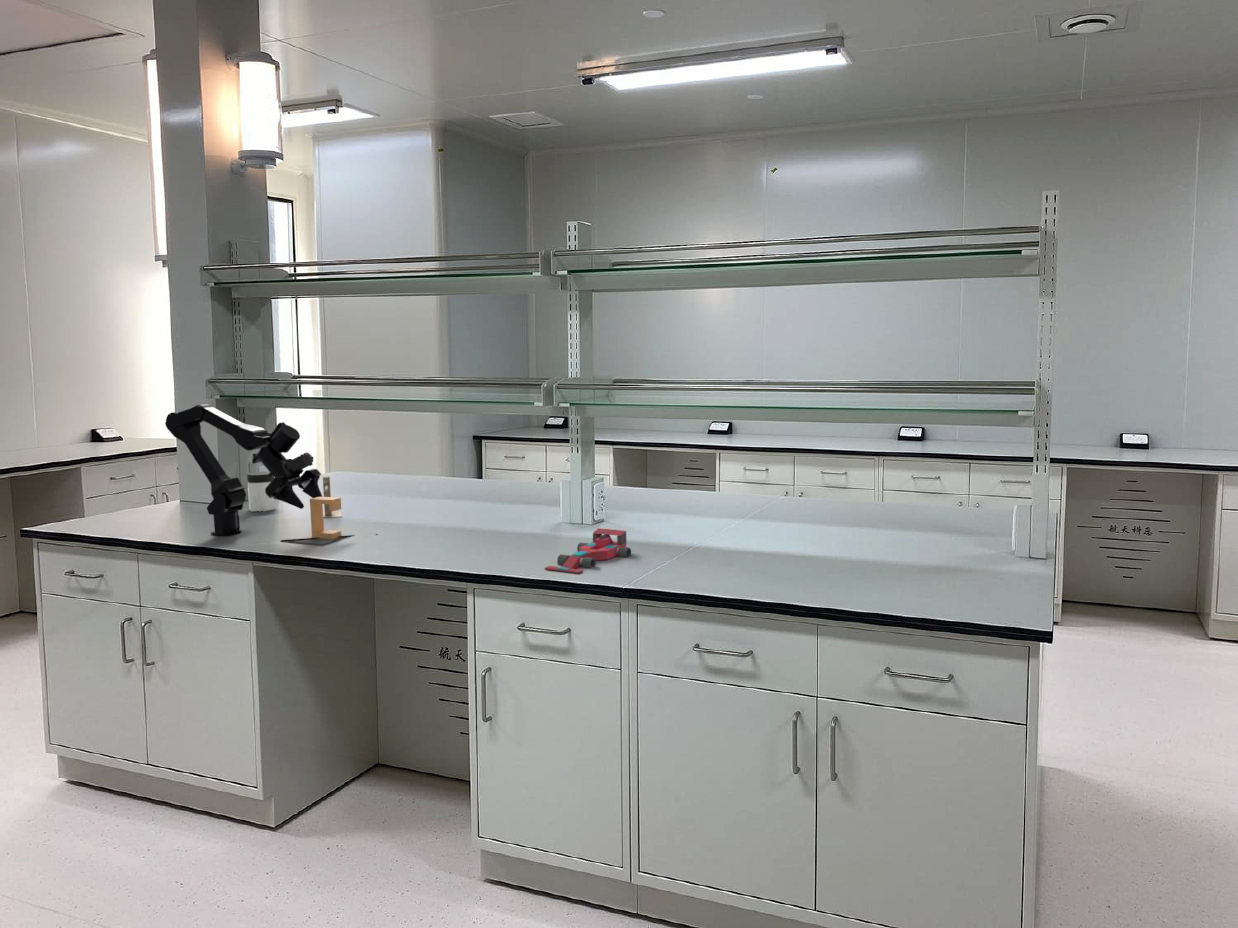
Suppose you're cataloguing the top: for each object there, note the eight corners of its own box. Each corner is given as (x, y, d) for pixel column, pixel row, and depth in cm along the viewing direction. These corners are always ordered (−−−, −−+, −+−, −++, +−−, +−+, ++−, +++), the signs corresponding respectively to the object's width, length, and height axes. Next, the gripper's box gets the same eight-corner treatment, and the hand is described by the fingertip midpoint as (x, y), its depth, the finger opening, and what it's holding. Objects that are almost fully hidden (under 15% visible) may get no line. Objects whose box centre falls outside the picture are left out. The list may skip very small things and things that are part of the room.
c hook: (312, 538, 269) (309, 499, 268) (320, 535, 273) (318, 496, 272) (334, 539, 267) (332, 500, 266) (342, 536, 271) (340, 497, 269)
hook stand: (313, 529, 284) (310, 485, 282) (315, 517, 303) (312, 475, 301) (341, 527, 286) (339, 483, 284) (342, 515, 305) (339, 474, 303)
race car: (535, 546, 232) (588, 527, 254) (535, 571, 233) (588, 549, 254) (586, 552, 225) (636, 531, 247) (586, 577, 226) (636, 555, 248)
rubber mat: (322, 545, 262) (322, 543, 262) (281, 542, 267) (281, 540, 267) (355, 535, 275) (355, 533, 275) (315, 532, 280) (315, 530, 280)
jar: (243, 511, 314) (240, 475, 313) (255, 507, 323) (252, 471, 321) (270, 511, 314) (267, 475, 312) (281, 507, 322) (278, 471, 320)
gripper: (271, 448, 261) (309, 490, 259) (313, 440, 278) (348, 480, 276) (248, 476, 264) (285, 518, 262) (291, 466, 282) (326, 506, 280)
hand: (313, 504), depth 270 cm, fingers open, 9 cm apart
